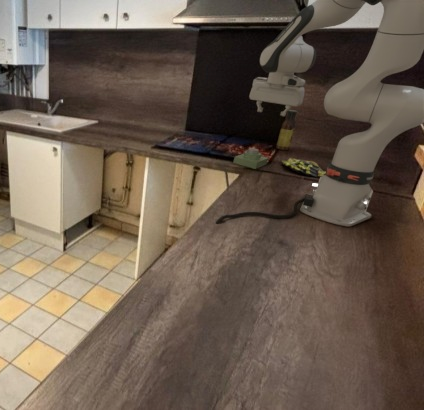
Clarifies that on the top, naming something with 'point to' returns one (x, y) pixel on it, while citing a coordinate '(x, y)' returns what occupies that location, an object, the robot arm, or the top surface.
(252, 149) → the pump
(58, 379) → the top surface
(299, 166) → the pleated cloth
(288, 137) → the sauce bottle
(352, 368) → the top surface
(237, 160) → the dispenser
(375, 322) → the top surface
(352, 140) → the robot arm
